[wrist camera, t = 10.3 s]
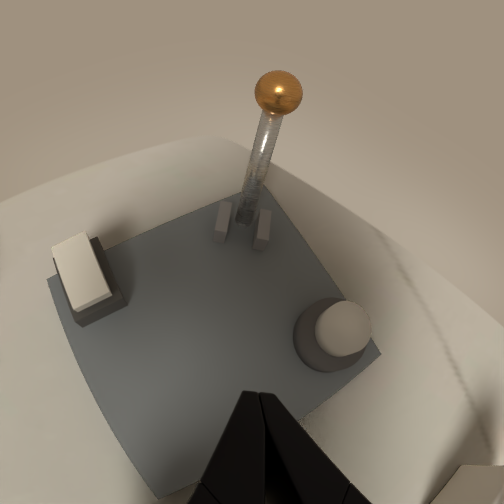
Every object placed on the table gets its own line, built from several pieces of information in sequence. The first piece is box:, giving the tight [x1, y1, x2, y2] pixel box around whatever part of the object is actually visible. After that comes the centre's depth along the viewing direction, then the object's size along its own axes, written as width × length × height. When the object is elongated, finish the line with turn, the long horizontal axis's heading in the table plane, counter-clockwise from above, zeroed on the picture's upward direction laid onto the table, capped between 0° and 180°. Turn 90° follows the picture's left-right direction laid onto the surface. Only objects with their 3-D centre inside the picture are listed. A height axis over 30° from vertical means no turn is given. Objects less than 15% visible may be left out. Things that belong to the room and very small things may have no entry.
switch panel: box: [47, 184, 381, 499], centre depth 19 cm, size 16×18×3 cm
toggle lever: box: [235, 71, 303, 228], centre depth 18 cm, size 3×3×11 cm
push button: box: [315, 301, 371, 357], centre depth 18 cm, size 3×3×1 cm
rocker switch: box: [51, 231, 112, 312], centre depth 16 cm, size 4×2×1 cm, turn 32°
